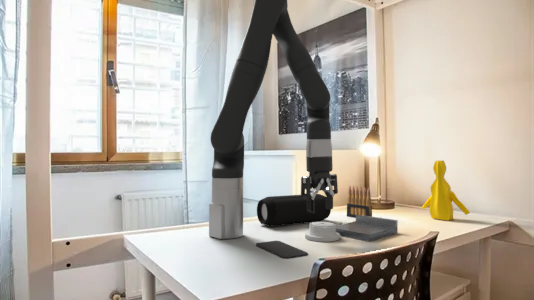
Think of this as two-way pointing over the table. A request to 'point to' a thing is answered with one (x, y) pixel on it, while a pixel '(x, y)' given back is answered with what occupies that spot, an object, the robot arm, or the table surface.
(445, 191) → the figure statuette
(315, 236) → the mechanical component
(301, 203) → the portable speaker
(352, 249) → the table surface
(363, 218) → the plate
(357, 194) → the ammunition clip
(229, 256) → the table surface
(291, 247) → the phone
